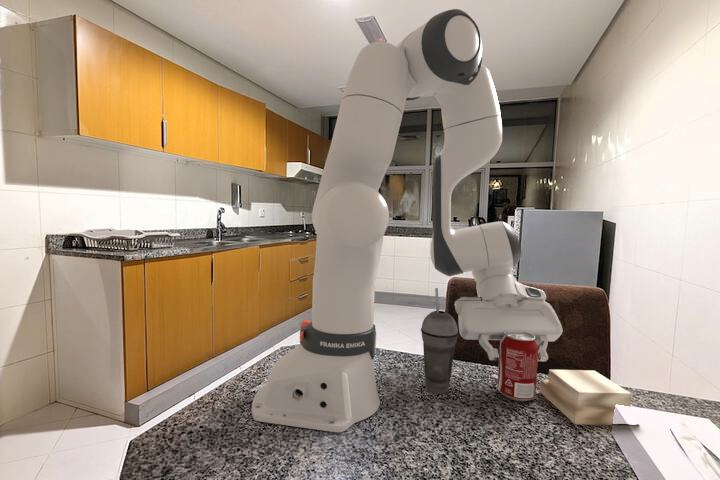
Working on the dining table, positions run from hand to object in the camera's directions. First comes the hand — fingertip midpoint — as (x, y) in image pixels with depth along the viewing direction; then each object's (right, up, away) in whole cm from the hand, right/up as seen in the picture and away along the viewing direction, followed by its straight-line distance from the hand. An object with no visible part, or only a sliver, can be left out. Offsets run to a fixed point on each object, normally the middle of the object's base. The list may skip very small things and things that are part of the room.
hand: (518, 359), depth 66 cm
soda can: (0, -7, +1) cm, 7 cm away
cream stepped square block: (+11, -8, -3) cm, 14 cm away
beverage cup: (-15, -7, +3) cm, 17 cm away
